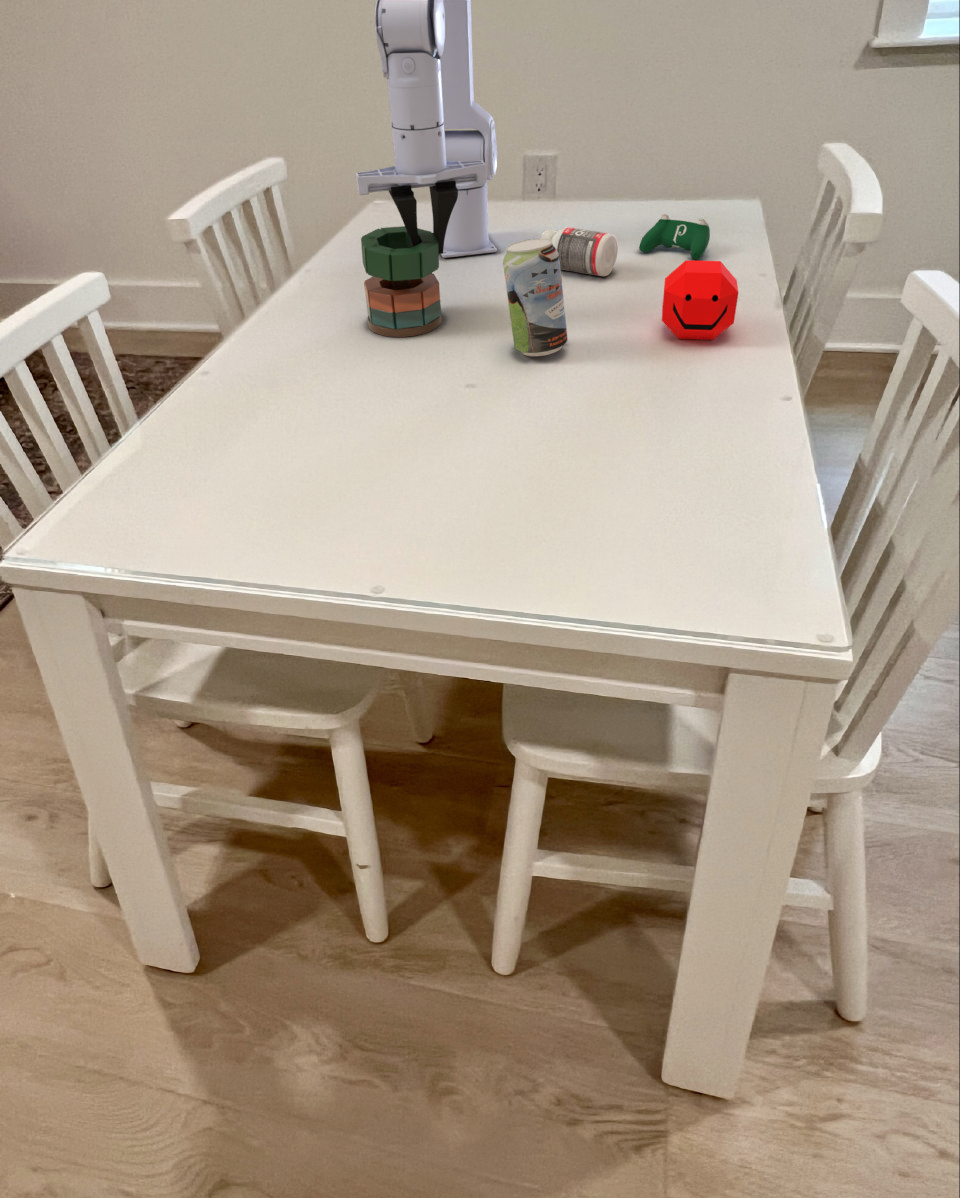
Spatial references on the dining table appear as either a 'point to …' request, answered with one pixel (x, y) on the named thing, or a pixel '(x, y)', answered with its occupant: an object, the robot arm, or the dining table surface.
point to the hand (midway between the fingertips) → (427, 252)
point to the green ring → (399, 254)
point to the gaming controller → (677, 236)
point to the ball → (699, 300)
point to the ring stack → (403, 306)
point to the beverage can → (535, 297)
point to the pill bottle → (584, 250)
